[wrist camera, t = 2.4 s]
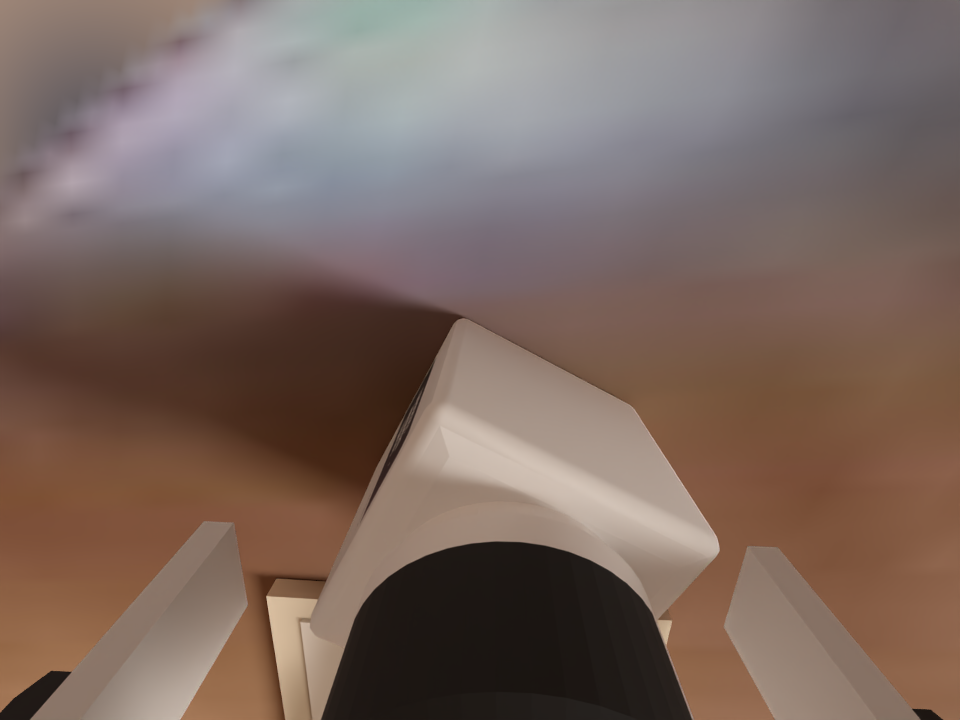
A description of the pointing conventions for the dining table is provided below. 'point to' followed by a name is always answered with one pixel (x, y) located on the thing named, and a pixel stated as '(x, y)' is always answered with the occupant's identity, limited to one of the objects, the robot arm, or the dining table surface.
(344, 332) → the dining table surface
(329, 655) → the drawing board
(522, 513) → the container
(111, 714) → the robot arm
